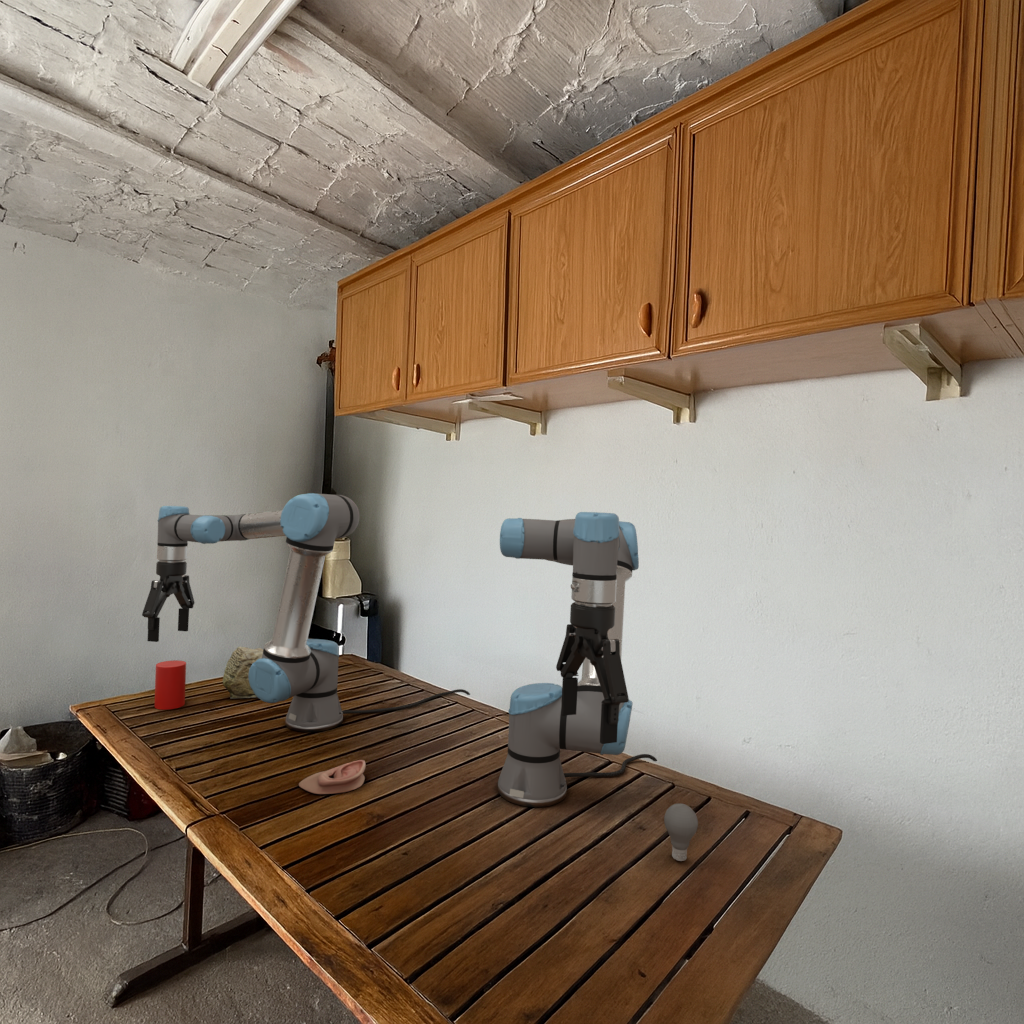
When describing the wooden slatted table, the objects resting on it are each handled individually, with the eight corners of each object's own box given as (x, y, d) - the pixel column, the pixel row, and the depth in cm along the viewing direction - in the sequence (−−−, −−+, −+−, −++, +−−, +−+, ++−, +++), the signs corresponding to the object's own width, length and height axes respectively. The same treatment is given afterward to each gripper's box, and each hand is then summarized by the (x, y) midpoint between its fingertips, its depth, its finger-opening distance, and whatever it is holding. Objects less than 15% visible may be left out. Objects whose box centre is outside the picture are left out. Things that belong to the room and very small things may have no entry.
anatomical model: (291, 772, 135) (318, 751, 147) (291, 790, 136) (317, 768, 147) (349, 780, 133) (372, 758, 144) (348, 799, 133) (371, 776, 144)
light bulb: (658, 850, 118) (660, 797, 118) (689, 850, 119) (691, 797, 119) (668, 869, 112) (671, 813, 112) (701, 868, 113) (704, 813, 113)
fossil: (218, 695, 195) (220, 647, 195) (278, 685, 208) (279, 640, 207) (228, 703, 189) (230, 653, 188) (289, 692, 201) (290, 645, 201)
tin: (149, 705, 185) (150, 663, 184) (176, 699, 191) (178, 658, 191) (162, 711, 180) (163, 668, 180) (189, 705, 186) (191, 663, 186)
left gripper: (185, 556, 191) (182, 626, 191) (129, 564, 166) (125, 645, 166) (209, 557, 190) (206, 627, 190) (156, 566, 165) (152, 647, 166)
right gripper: (541, 592, 117) (536, 706, 118) (613, 617, 94) (606, 759, 95) (577, 591, 120) (572, 702, 121) (655, 616, 97) (648, 753, 97)
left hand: (168, 636), depth 178 cm, fingers open, 13 cm apart
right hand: (587, 727), depth 108 cm, fingers open, 13 cm apart
